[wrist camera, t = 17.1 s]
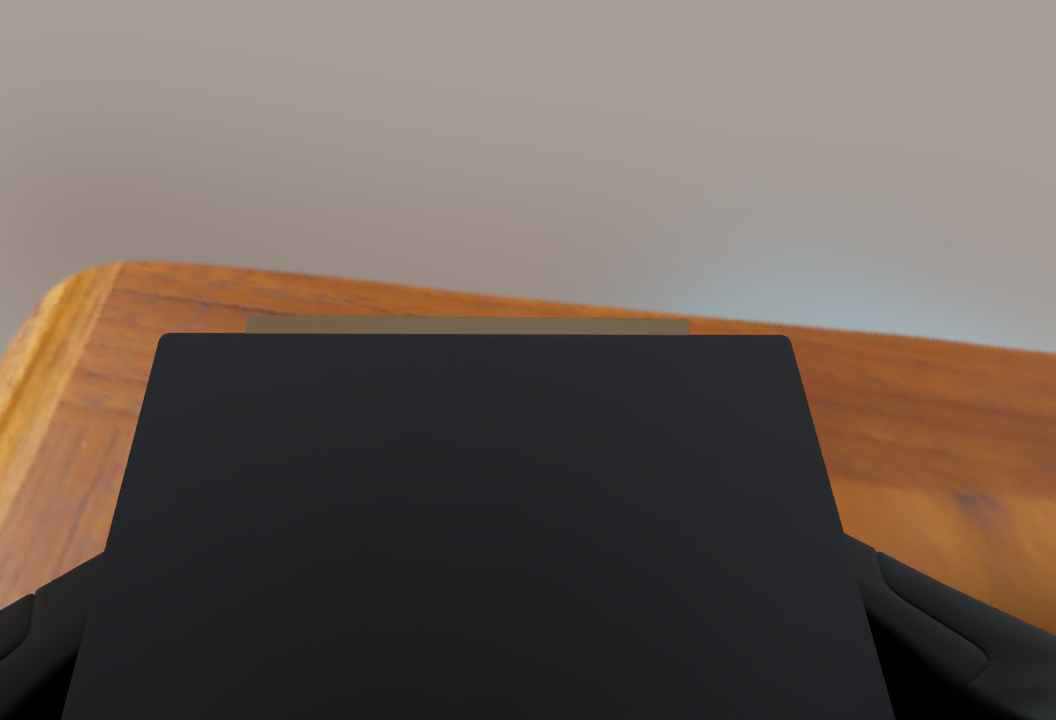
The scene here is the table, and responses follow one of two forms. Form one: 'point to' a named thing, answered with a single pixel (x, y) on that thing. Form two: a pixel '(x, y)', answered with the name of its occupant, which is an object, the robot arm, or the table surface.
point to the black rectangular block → (476, 536)
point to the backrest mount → (464, 325)
